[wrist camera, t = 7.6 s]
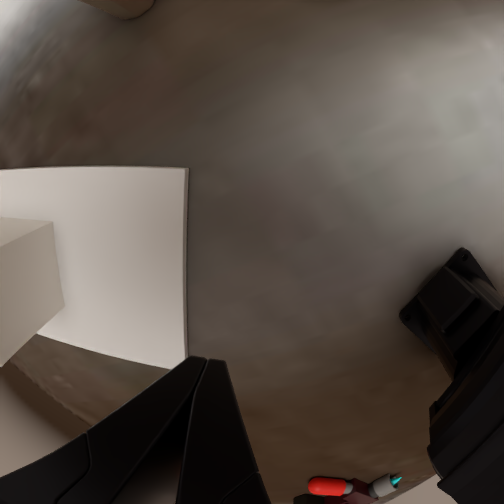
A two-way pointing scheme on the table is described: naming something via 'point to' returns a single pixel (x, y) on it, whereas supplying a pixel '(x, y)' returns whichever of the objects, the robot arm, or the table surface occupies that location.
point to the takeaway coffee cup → (122, 7)
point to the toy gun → (347, 491)
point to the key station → (95, 260)
